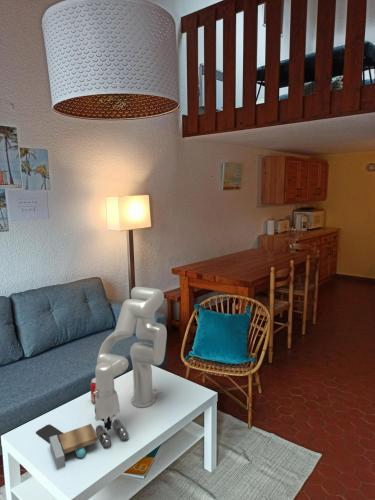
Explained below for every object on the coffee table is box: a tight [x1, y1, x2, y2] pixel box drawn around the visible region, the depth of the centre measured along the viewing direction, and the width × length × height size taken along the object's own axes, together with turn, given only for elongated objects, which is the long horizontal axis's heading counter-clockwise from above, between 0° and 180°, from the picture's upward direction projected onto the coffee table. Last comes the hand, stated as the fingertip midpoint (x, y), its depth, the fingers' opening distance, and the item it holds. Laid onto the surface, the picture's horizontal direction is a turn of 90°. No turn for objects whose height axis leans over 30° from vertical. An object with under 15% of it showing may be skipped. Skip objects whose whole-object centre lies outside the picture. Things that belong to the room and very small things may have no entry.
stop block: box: [49, 435, 66, 470], centre depth 149 cm, size 3×14×5 cm, turn 31°
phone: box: [35, 423, 64, 445], centre depth 162 cm, size 7×1×15 cm
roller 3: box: [112, 418, 130, 442], centre depth 163 cm, size 4×14×4 cm, turn 31°
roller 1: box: [74, 446, 87, 459], centre depth 153 cm, size 14×4×4 cm, turn 31°
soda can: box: [90, 376, 97, 404], centre depth 186 cm, size 7×7×12 cm
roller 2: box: [95, 424, 112, 448], centre depth 159 cm, size 4×14×4 cm, turn 31°
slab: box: [58, 423, 99, 455], centre depth 153 cm, size 14×10×2 cm
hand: (108, 428), depth 160 cm, fingers closed
